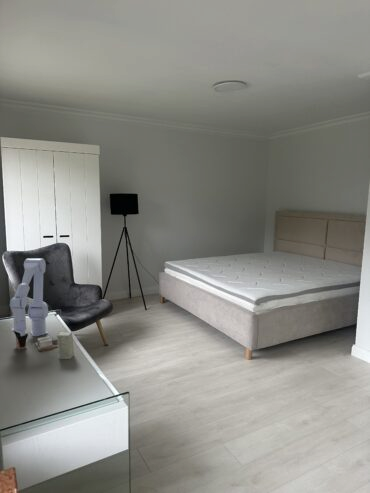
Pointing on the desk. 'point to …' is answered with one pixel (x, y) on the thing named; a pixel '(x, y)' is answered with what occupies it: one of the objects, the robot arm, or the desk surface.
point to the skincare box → (65, 345)
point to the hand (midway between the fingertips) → (21, 344)
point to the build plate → (46, 343)
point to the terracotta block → (19, 345)
